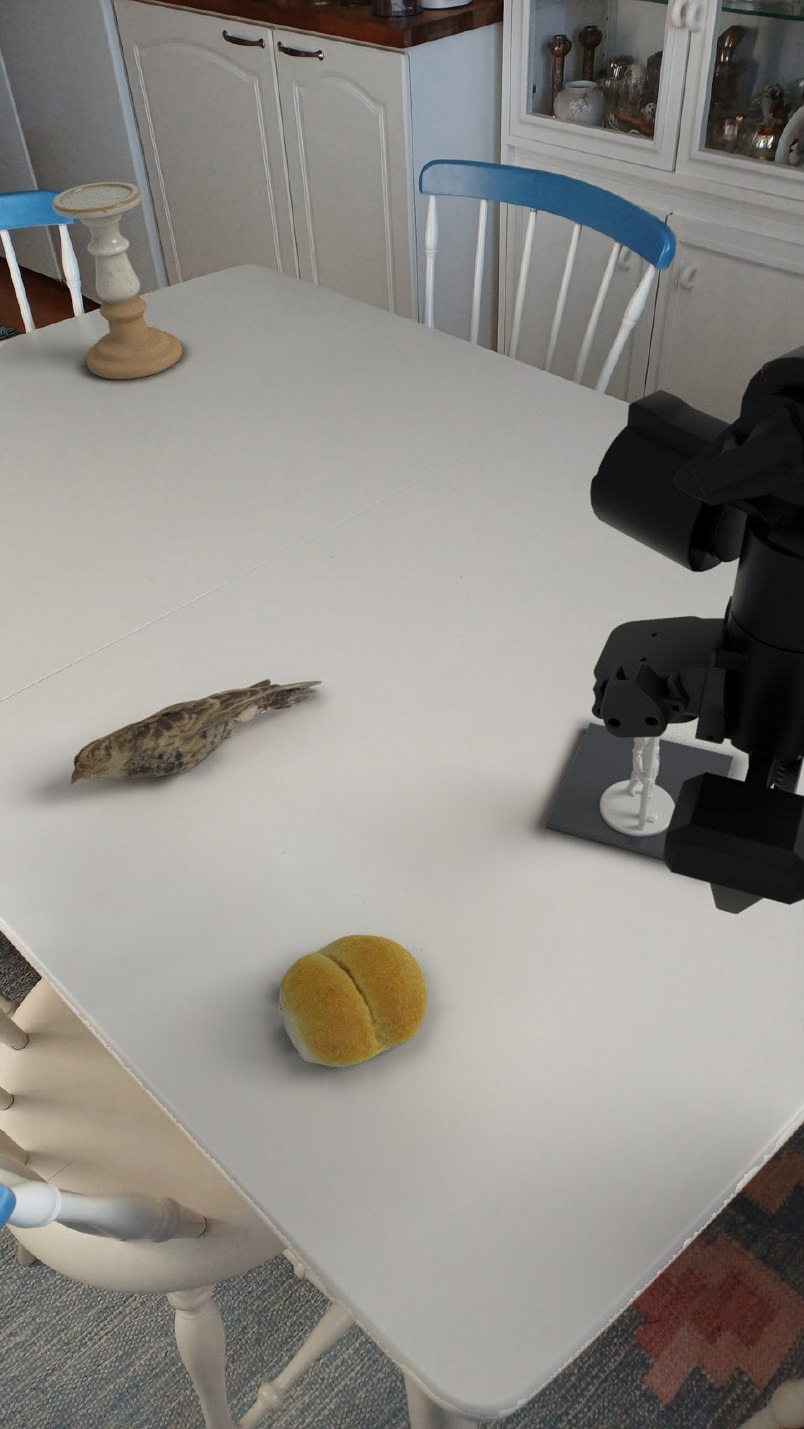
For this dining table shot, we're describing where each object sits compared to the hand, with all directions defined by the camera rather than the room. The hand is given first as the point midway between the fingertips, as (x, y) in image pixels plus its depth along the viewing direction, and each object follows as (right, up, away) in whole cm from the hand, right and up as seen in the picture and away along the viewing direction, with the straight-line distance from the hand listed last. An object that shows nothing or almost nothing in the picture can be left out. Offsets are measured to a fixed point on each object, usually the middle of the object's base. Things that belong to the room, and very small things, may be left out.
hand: (744, 844), depth 58 cm
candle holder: (-53, +53, +82) cm, 111 cm away
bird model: (-34, +4, +27) cm, 44 cm away
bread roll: (-21, -12, +9) cm, 26 cm away
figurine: (-2, 0, +19) cm, 19 cm away
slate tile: (-1, +1, +21) cm, 21 cm away
